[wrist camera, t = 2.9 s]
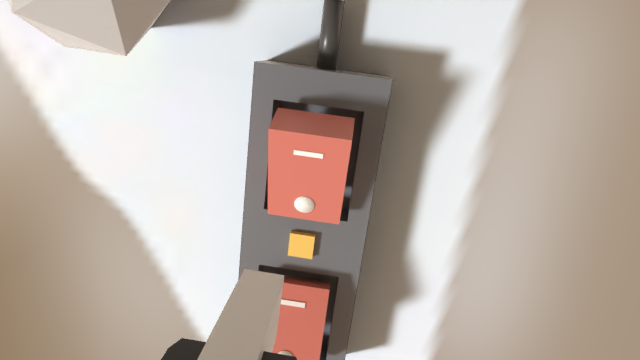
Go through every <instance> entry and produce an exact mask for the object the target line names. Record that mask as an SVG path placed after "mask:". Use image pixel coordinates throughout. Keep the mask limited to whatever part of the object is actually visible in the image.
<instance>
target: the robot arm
mask: <svg viewBox="0 0 640 360" xmlns="http://www.w3.org/2000/svg"><path fill="white" fill-rule="evenodd" d="M283 282H284V275H279V274H273V273H267V272H261V271H255V270H249V269H244V271H243V272H242V274H241V276H240V278H239V280H238V282H237V284H236V286H235V288H234V290H233V292H232V294H231V296H230V298H229V299H228V301H227V303H226V305H225V307H224V309H223V311H222V313H221V315H220V317H219V319H218V321H217V323H216V325H215V326H214V328H213V330H212V332H211V334H210V336H209V338H208V340H207V342H201V341H195V340H189V339H183V338H182V339H180V340H179V341H178V342H176V343H175V344H174V345H172V346H171V347H169V348H168V350H167V351H166V353H165V354H164V356H163V358H162V359H161V360H297V358H296V357H294V356H289V355H283V354H277V353H272V351H273V347H274V344H275V340H276V335H277V328H278V320H279V312H280V305H281V297H282V290H283Z"/></svg>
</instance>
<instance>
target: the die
mask: <svg viewBox="0 0 640 360" xmlns="http://www.w3.org/2000/svg"><path fill="white" fill-rule="evenodd" d="M8 2H9V5H10V7H11V10H12V12H13V13H14V14H15V15H17V16H19V17H20V18H22V19H23V20H25V21H26V22H28V23H29V24H31V25H32V26H34V27H35V28H37V29H38V30H40V31H41V32H43V33H44V34H46V35H47V36H49V37H51V38H52V39H54V40H55V41H57V42H58V43H60V44H61V45H63V46H65V47H71V48H78V49H84V50H91V51H97V52H104V53H110V54H116V55H123V56H127V54H128V53H129V52H130V51H131V50H132V49H133V48H134V46H135V45H136V44H137V43H138V42H139V41H140V40H141V38H142V37H143V36H144V35H145V34H146V33H147V32H148V30H149V29H150V28H151V27H152V25H153V24H154V23H155V21H156V20H157V18H158V17H159V16H160V14H161V13H162V11H163V10H164V9H165V7H166V6H167V4H168V3H169V2H170V0H8Z"/></svg>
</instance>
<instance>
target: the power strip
mask: <svg viewBox="0 0 640 360" xmlns="http://www.w3.org/2000/svg"><path fill="white" fill-rule="evenodd" d="M343 8H344V1H342V0H324V7H323V16H322V24H321V33H320V41H319V50H318V59H317V67H314V66H307V65H299V64H292V63H284V62H276V61H269V60H265V61H256V62H254V74H253V87H252V101H251V115H250V129H249V142H248V156H247V170H246V183H245V197H244V211H243V225H242V238H241V252H240V266H239V278H240V276H241V274H242V272H243V271H244V269H249V270H255V271H261V272H267V273H273V274H279V275H285V276H291V277H297V278H304V279H310V280H316V281H323V282H329V283H330V291H329V298H328V304H327V311H326V318H325V325H324V332H323V339H322V346H321V353H320V360H345V356H346V350H347V344H348V338H349V332H350V327H351V321H352V315H353V309H354V303H355V297H356V291H357V285H358V280H359V274H360V268H361V262H362V256H363V250H364V244H365V238H366V233H367V227H368V221H369V215H370V209H371V203H372V197H373V192H374V186H375V180H376V174H377V168H378V162H379V156H380V150H381V145H382V139H383V133H384V127H385V121H386V115H387V109H388V103H389V98H390V92H391V86H392V79H391V78H390V77H389V76H383V75H375V74H368V73H360V72H353V71H345V70H337V69H336V62H337V55H338V47H339V39H340V31H341V24H342V16H343ZM277 108H285V109H292V110H300V111H307V112H314V113H322V114H329V115H336V116H343V117H351V118H355V122H354V130H353V137H352V144H351V151H350V158H349V164H348V171H347V177H346V184H345V190H344V197H343V203H342V210H341V216H340V223H339V225H338V224H332V223H325V222H318V221H312V220H305V219H298V218H292V217H285V216H278V215H272V214H268V129H269V126H270V124H271V122H272V120H273V117H274V115H275V113H276V111H277ZM238 280H239V279H238Z"/></svg>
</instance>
